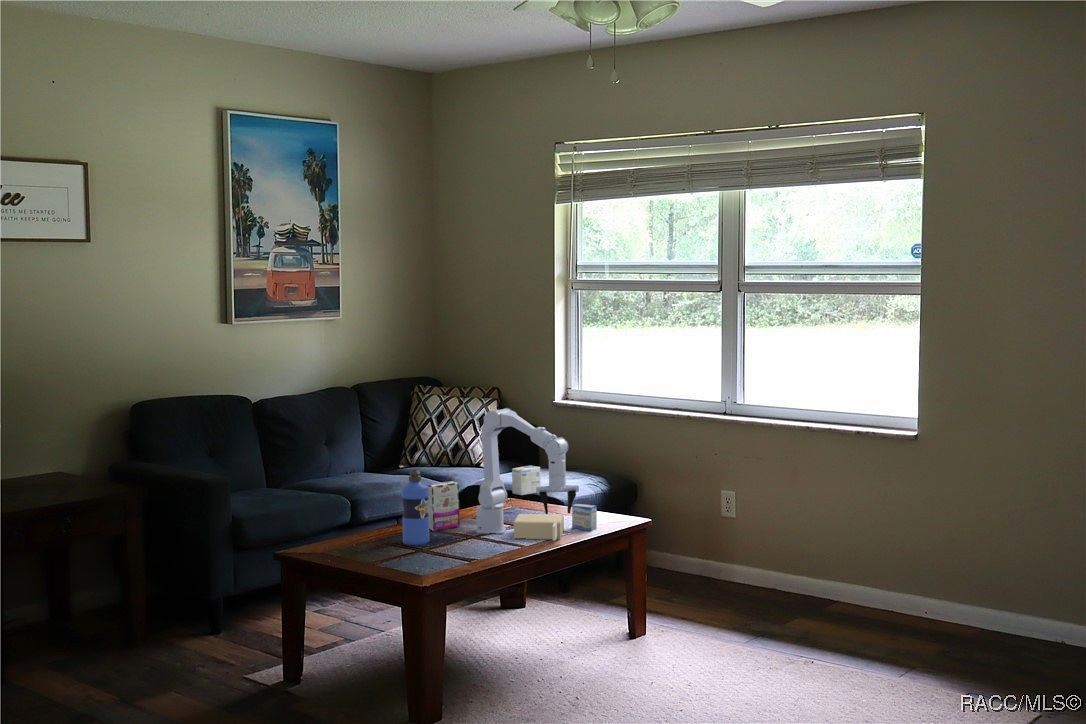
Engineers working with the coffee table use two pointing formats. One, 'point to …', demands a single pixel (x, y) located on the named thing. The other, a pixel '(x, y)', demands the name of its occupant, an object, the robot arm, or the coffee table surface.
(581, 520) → the medicine box
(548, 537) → the cream block
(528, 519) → the carton
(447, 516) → the candy bar box
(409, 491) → the water bottle
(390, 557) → the coffee table surface
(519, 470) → the light bulb box
